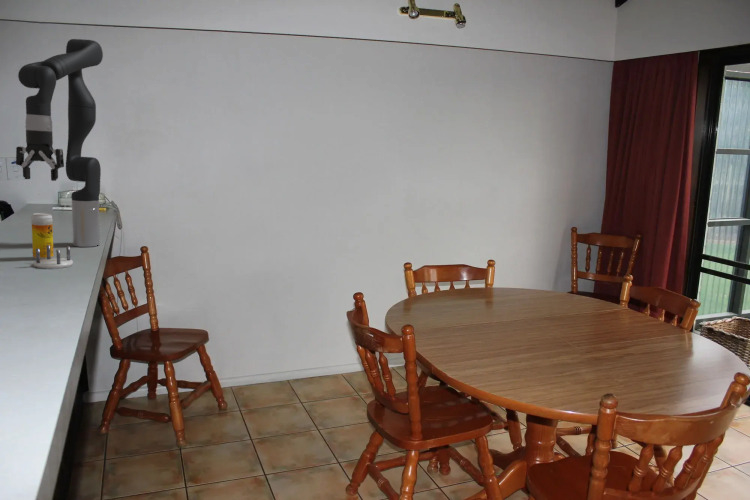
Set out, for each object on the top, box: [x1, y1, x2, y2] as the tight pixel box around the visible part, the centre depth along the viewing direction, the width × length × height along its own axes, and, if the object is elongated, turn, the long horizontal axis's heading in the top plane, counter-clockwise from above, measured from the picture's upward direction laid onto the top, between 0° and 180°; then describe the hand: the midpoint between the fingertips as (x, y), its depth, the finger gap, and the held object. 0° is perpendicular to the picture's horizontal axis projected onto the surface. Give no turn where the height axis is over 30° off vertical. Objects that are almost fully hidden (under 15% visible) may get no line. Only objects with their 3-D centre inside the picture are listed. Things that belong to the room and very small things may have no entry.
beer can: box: [30, 212, 55, 260], centre depth 199 cm, size 6×6×15 cm
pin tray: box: [33, 245, 74, 270], centre depth 191 cm, size 11×11×6 cm
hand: (40, 179), depth 195 cm, fingers open, 8 cm apart
